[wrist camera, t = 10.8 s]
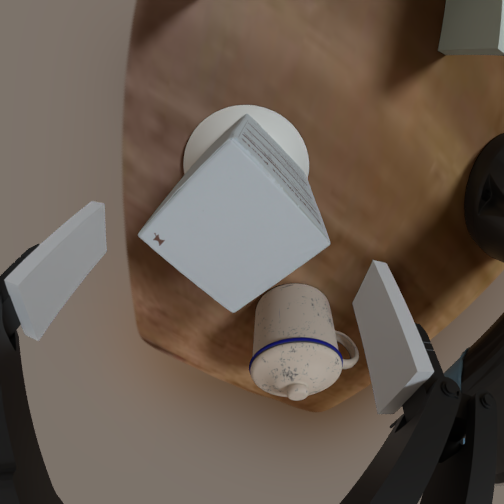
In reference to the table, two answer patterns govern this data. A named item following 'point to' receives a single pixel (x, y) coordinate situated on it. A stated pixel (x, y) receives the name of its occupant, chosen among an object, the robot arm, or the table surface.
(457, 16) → the three-sided green enclosure
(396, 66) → the table surface
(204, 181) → the supplement box
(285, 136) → the coaster
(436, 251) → the table surface
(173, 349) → the table surface
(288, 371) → the teacup with lid
